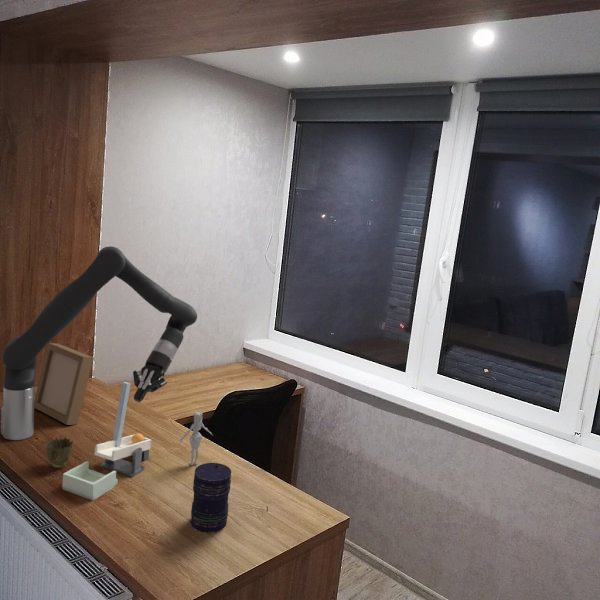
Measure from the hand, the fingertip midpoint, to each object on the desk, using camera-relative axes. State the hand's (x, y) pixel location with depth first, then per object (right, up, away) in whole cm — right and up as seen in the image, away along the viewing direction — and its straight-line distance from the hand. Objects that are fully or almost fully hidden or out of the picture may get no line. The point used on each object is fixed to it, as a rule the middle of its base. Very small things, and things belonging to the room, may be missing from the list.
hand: (136, 400), depth 182 cm
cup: (-21, -19, -10) cm, 30 cm away
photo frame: (-35, -10, +30) cm, 47 cm away
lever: (-2, -14, -7) cm, 16 cm away
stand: (-1, -19, -3) cm, 20 cm away
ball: (+1, -12, -1) cm, 12 cm away
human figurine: (+18, -21, 0) cm, 28 cm away
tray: (-8, -22, -19) cm, 30 cm away
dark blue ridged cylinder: (+28, -28, -30) cm, 50 cm away
